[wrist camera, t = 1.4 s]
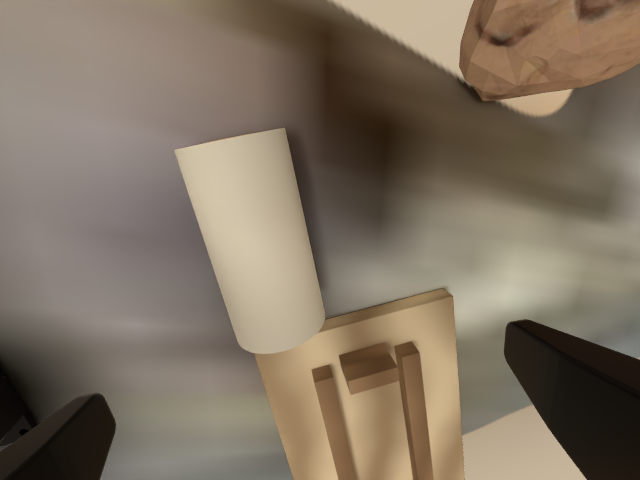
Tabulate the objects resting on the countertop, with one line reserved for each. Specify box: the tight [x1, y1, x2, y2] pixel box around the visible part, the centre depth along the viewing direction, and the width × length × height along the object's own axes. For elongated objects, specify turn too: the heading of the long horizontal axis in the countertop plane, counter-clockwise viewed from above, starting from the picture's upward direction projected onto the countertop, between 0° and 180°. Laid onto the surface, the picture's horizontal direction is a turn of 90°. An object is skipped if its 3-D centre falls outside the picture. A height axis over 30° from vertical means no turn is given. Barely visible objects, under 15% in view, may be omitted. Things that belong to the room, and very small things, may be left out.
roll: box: [174, 128, 325, 354], centre depth 16 cm, size 10×5×5 cm, turn 11°
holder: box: [254, 288, 465, 480], centre depth 23 cm, size 13×18×4 cm
